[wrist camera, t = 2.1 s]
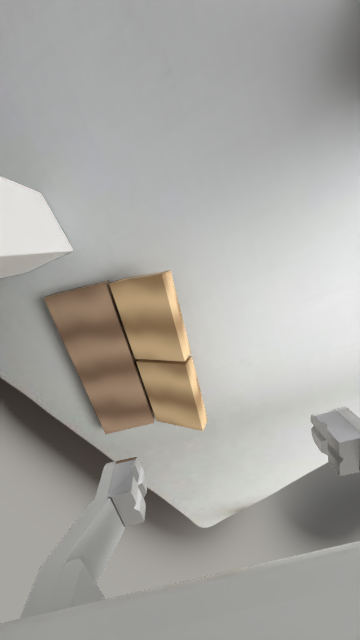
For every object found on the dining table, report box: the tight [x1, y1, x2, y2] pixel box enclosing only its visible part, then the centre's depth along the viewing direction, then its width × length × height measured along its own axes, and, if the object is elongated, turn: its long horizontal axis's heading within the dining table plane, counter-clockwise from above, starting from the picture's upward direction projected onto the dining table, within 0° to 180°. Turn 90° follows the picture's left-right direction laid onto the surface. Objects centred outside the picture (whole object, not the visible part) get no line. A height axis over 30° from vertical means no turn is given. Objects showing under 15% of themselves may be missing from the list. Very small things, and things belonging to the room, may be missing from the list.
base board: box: [44, 280, 154, 434], centre depth 33 cm, size 23×8×2 cm, turn 13°
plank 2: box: [136, 356, 207, 431], centre depth 32 cm, size 11×8×2 cm
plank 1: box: [109, 271, 191, 361], centre depth 29 cm, size 11×8×2 cm
